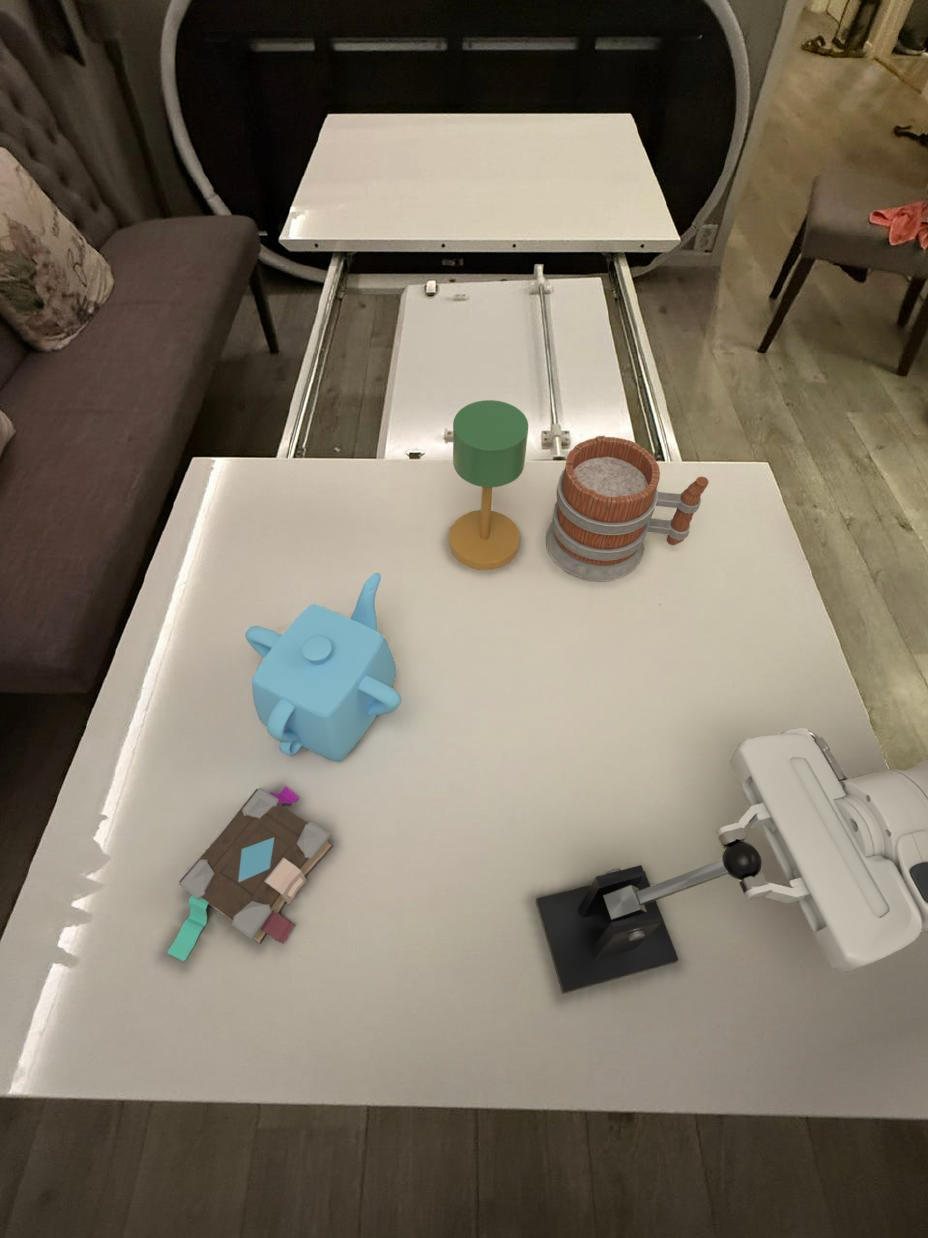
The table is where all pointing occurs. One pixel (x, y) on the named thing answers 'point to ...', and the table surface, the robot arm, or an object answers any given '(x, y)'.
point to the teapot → (324, 678)
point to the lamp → (487, 480)
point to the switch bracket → (602, 933)
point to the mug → (613, 509)
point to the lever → (685, 881)
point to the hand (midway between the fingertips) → (732, 863)
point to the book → (253, 870)
